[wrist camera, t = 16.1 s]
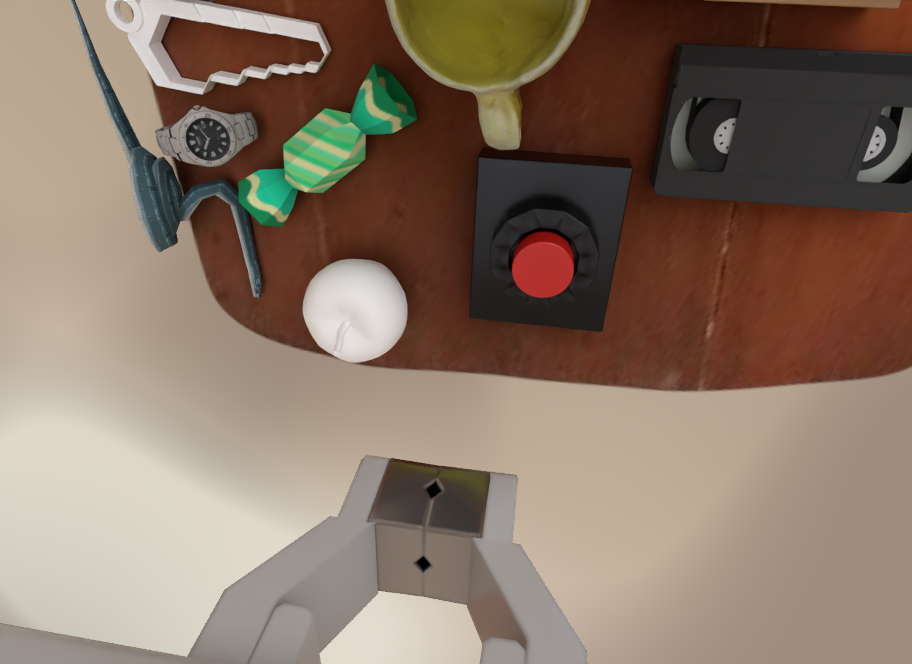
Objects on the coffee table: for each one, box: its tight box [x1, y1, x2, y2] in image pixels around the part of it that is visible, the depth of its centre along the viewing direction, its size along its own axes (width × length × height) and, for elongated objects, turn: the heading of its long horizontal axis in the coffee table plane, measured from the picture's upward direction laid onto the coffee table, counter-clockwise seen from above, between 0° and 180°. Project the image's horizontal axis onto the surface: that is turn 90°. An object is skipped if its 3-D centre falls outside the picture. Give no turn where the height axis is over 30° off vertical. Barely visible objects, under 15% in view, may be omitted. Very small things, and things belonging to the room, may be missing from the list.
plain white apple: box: [303, 259, 407, 362], centre depth 40 cm, size 7×7×8 cm
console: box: [469, 148, 633, 332], centre depth 37 cm, size 11×9×4 cm
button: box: [512, 231, 574, 298], centre depth 35 cm, size 4×4×2 cm
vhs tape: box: [650, 43, 912, 213], centre depth 33 cm, size 14×8×2 cm, turn 89°
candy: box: [238, 63, 418, 227], centre depth 37 cm, size 12×3×4 cm
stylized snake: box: [71, 0, 262, 298], centre depth 39 cm, size 7×20×6 cm
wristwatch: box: [155, 105, 258, 167], centre depth 37 cm, size 4×6×5 cm, turn 99°
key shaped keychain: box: [106, 0, 331, 94], centre depth 36 cm, size 13×5×2 cm, turn 81°
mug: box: [385, 0, 591, 150], centre depth 30 cm, size 12×10×10 cm
